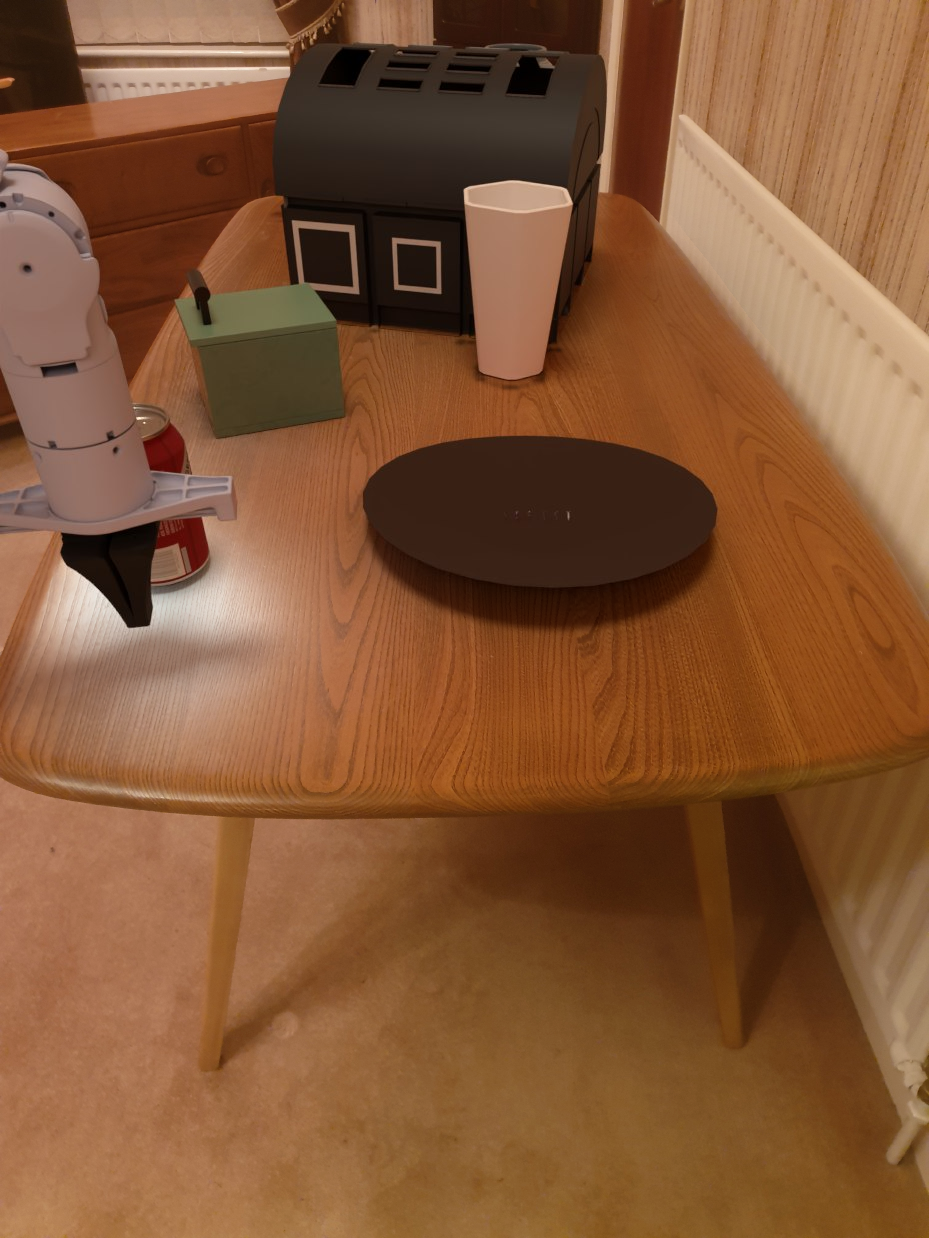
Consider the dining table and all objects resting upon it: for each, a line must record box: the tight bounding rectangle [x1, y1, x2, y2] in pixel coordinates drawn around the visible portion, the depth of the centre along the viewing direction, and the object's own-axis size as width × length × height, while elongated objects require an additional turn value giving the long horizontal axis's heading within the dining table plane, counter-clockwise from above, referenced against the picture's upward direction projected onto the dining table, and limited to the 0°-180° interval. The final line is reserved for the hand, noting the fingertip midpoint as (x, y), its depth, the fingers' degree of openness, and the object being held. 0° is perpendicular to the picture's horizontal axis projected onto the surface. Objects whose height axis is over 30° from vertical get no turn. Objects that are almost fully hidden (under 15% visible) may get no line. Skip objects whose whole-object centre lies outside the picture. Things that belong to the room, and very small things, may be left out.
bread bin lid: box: [174, 268, 338, 348], centre depth 79 cm, size 13×10×4 cm
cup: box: [464, 181, 573, 381], centre depth 88 cm, size 11×10×17 cm
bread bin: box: [189, 327, 346, 439], centre depth 83 cm, size 12×10×9 cm
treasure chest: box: [272, 42, 608, 345], centre depth 104 cm, size 32×32×26 cm
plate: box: [362, 435, 718, 589], centre depth 69 cm, size 28×28×4 cm
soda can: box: [132, 402, 210, 588], centre depth 61 cm, size 7×7×12 cm
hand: (140, 617), depth 55 cm, fingers closed
